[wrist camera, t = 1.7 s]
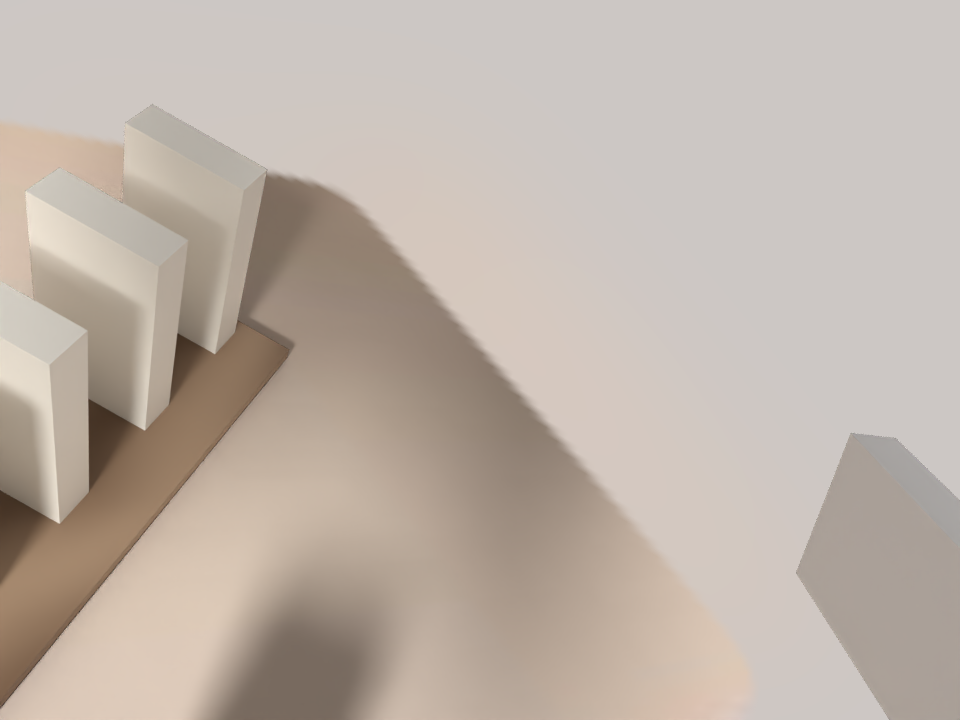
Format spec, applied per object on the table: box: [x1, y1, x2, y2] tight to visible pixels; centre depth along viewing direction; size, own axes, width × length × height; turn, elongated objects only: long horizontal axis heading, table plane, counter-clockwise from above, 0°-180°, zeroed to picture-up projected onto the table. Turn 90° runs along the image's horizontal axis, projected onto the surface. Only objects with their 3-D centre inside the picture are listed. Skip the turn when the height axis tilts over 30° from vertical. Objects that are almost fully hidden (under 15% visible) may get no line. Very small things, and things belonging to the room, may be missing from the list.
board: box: [0, 320, 289, 707], centre depth 32 cm, size 10×24×1 cm, turn 156°
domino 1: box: [0, 281, 89, 524], centre depth 28 cm, size 2×5×10 cm, turn 66°
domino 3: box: [122, 105, 267, 354], centre depth 35 cm, size 2×5×10 cm, turn 66°
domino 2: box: [25, 167, 188, 430], centre depth 31 cm, size 2×5×10 cm, turn 66°
